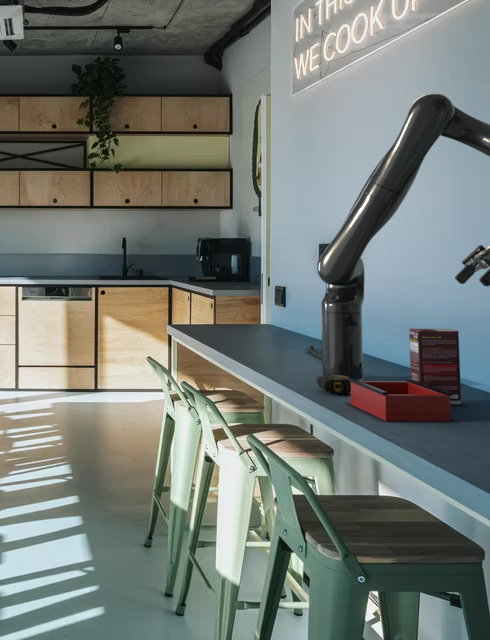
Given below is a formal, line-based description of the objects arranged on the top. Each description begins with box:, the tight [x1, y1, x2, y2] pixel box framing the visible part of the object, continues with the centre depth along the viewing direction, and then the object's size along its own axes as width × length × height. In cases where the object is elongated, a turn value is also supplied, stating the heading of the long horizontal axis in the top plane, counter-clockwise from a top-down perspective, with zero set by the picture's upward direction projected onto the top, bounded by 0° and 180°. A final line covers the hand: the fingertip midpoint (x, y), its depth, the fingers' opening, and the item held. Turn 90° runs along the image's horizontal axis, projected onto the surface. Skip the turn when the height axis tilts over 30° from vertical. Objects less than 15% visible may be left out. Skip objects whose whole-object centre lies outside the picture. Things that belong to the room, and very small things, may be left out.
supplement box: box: [408, 327, 462, 405], centre depth 159 cm, size 9×5×16 cm, turn 85°
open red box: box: [348, 378, 453, 422], centre depth 149 cm, size 15×14×6 cm
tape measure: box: [316, 375, 351, 395], centre depth 169 cm, size 7×7×4 cm
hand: (470, 282), depth 159 cm, fingers open, 8 cm apart
